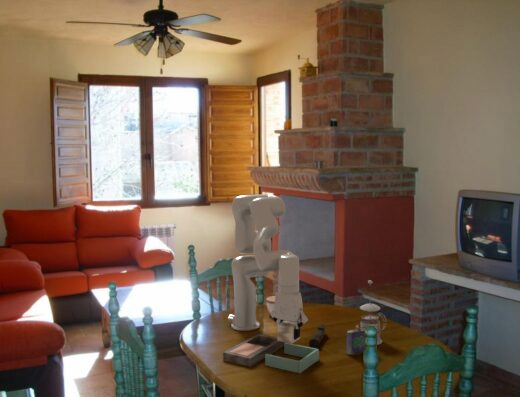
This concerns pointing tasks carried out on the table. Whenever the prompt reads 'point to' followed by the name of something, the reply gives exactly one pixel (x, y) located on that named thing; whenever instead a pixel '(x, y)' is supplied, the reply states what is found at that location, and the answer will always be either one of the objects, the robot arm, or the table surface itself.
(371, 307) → the french press
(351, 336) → the flask
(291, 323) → the cube
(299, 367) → the teal open tray
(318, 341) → the hand tool
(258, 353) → the dark brown shallow tray
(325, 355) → the table surface
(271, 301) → the lidded jar
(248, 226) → the robot arm
